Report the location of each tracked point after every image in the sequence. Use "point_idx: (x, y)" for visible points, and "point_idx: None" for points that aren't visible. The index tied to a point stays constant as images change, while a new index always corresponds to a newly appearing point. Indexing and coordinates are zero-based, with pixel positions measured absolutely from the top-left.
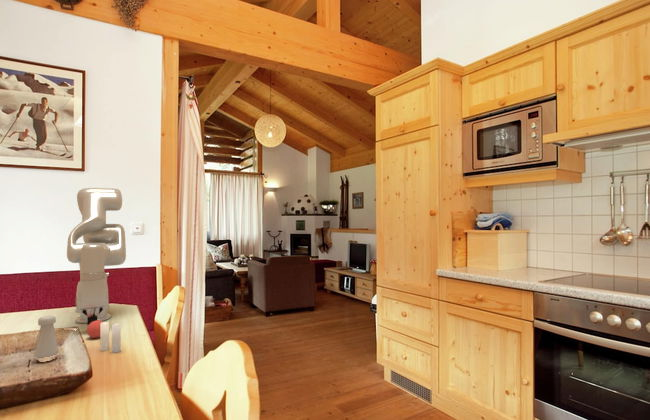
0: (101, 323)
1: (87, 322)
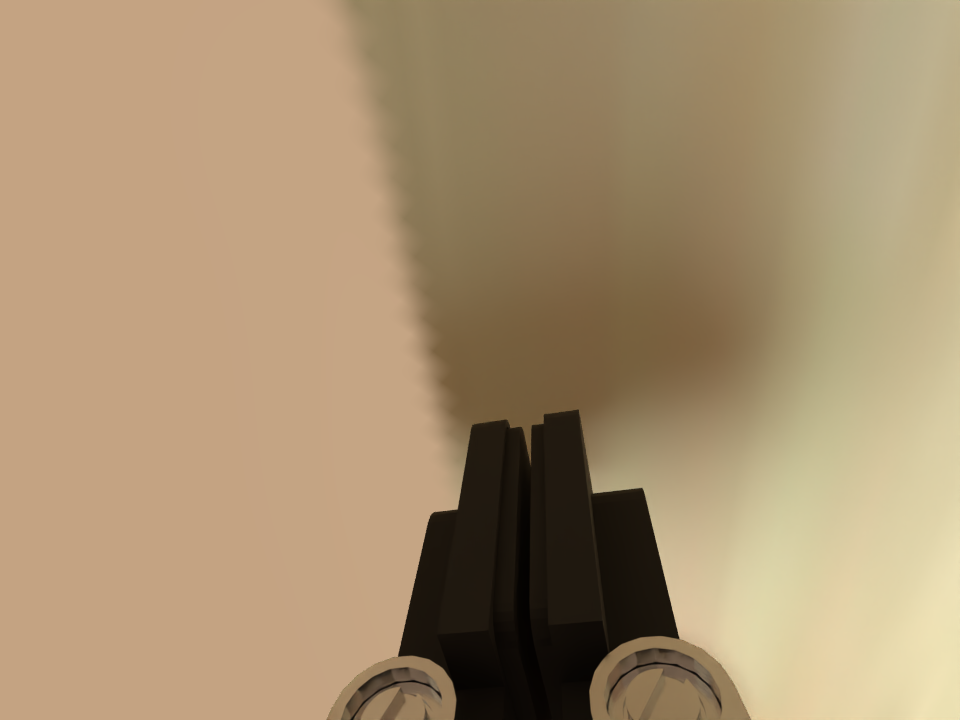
0: None
1: (427, 550)
